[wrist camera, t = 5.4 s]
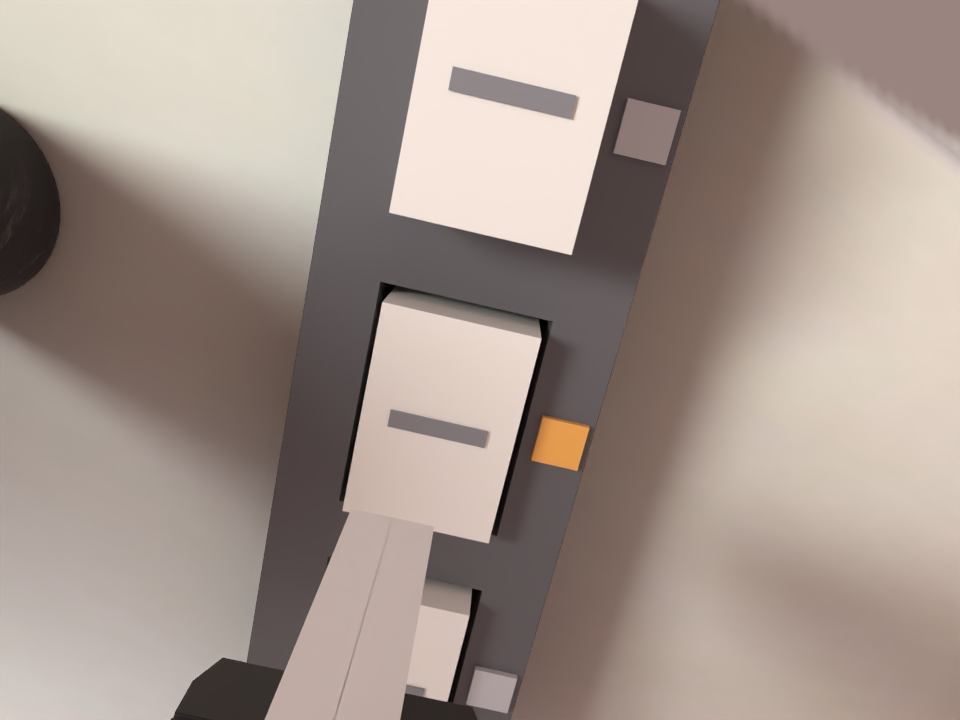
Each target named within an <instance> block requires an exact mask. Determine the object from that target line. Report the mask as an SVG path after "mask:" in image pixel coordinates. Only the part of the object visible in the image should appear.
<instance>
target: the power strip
mask: <svg viewBox="0 0 960 720" xmlns="http://www.w3.org/2000/svg"><path fill="white" fill-rule="evenodd" d="M719 1H720V0H638V3H637V7H636V11H635V15H634V19H633V22H632V26H631V30H630V34H629V38H628V42H627V45H626V49H625V53H624V57H623V61H622V64H621V68H620V72H619V76H618V80H617V84H616V87H615V91H614V95H613V99H612V103H611V106H610V110H609V114H608V118H607V122H606V126H605V129H604V133H603V137H602V141H601V145H600V148H599V152H598V156H597V160H596V164H595V167H594V171H593V175H592V179H591V183H590V187H589V190H588V194H587V198H586V202H585V206H584V209H583V213H582V217H581V221H580V225H579V229H578V232H577V236H576V240H575V244H574V248H573V251H572V255H569V254H564V253H560V252H556V251H552V250H547V249H543V248H539V247H534V246H530V245H526V244H522V243H517V242H513V241H509V240H504V239H500V238H496V237H492V236H487V235H483V234H479V233H474V232H470V231H466V230H461V229H457V228H453V227H449V226H444V225H440V224H436V223H431V222H427V221H423V220H419V219H414V218H410V217H406V216H401V215H397V214H393V213H389V209H390V204H391V199H392V193H393V188H394V183H395V177H396V172H397V167H398V161H399V156H400V151H401V145H402V140H403V135H404V129H405V124H406V119H407V113H408V108H409V103H410V98H411V92H412V87H413V82H414V76H415V71H416V66H417V60H418V55H419V50H420V44H421V39H422V34H423V28H424V23H425V18H426V12H427V7H428V2H429V0H354V1H353V7H352V13H351V19H350V25H349V32H348V38H347V44H346V50H345V56H344V63H343V69H342V75H341V81H340V87H339V94H338V100H337V106H336V112H335V118H334V125H333V131H332V137H331V143H330V149H329V156H328V162H327V168H326V174H325V180H324V187H323V193H322V199H321V205H320V211H319V218H318V224H317V230H316V236H315V242H314V249H313V255H312V261H311V267H310V273H309V280H308V286H307V292H306V298H305V305H304V311H303V317H302V323H301V329H300V336H299V342H298V348H297V354H296V360H295V367H294V373H293V379H292V385H291V391H290V398H289V404H288V410H287V416H286V422H285V429H284V435H283V441H282V447H281V453H280V460H279V466H278V472H277V478H276V484H275V491H274V497H273V503H272V509H271V515H270V522H269V528H268V534H267V540H266V546H265V553H264V559H263V565H262V571H261V577H260V584H259V590H258V596H257V602H256V609H255V615H254V621H253V627H252V633H251V640H250V646H249V652H248V658H247V663H250V664H255V665H260V666H265V667H270V668H274V669H279V670H284V671H285V669H286V666H287V664H288V662H289V659H290V657H291V654H292V652H293V649H294V647H295V645H296V642H297V640H298V637H299V635H300V632H301V630H302V628H303V625H304V623H305V620H306V618H307V615H308V613H309V610H310V608H311V606H312V603H313V601H314V598H315V596H316V593H317V591H318V589H319V586H320V584H321V581H322V579H323V576H324V574H325V572H326V569H327V567H328V564H329V562H330V559H331V557H332V554H333V552H334V550H335V547H336V545H337V542H338V540H339V537H340V535H341V533H342V530H343V528H344V525H345V523H346V520H347V518H348V516H349V513H350V512H345V511H342V510H343V505H344V499H345V494H346V489H347V484H348V478H349V473H350V468H351V463H352V458H353V452H354V447H355V442H356V437H357V432H358V426H359V421H360V416H361V411H362V406H363V400H364V395H365V390H366V385H367V379H368V374H369V369H370V364H371V359H372V353H373V348H374V343H375V338H376V333H377V327H378V322H379V317H380V312H381V306H382V302H383V301H384V299H385V298H386V297H387V296H388V295H389V293H390V292H391V291H392V290H393V289H394V287H395V286H396V285H397V286H401V287H406V288H410V289H414V290H419V291H423V292H427V293H432V294H436V295H440V296H445V297H449V298H453V299H458V300H462V301H466V302H471V303H475V304H479V305H484V306H488V307H492V308H497V309H501V310H505V311H510V312H514V313H518V314H523V315H527V316H531V317H536V318H539V325H540V332H541V338H542V339H541V343H540V347H539V351H538V354H537V358H536V362H535V366H534V370H533V374H532V378H531V381H530V385H529V389H528V393H527V397H526V401H525V405H524V409H523V412H522V416H521V420H520V424H519V428H518V432H517V436H516V439H515V443H514V447H513V451H512V455H511V459H510V463H509V466H508V470H507V474H506V478H505V482H504V486H503V490H502V494H501V497H500V501H499V505H498V509H497V513H496V517H495V521H494V524H493V528H492V532H491V536H490V540H489V544H488V543H484V542H479V541H475V540H471V539H466V538H462V537H457V536H453V535H448V534H444V533H439V532H435V531H433V536H432V542H431V548H430V553H429V559H428V565H427V571H426V576H425V578H428V579H432V580H437V581H441V582H446V583H450V584H455V585H459V586H464V587H468V588H472V595H471V606H470V616H469V620H468V624H467V628H466V632H465V636H464V639H463V643H462V647H461V651H460V655H459V659H458V663H457V666H456V670H455V674H454V678H453V682H452V686H451V690H450V694H449V697H448V701H447V702H450V703H455V704H460V705H465V706H469V707H472V708H473V710H474V712H475V715H476V717H477V719H478V720H510V719H511V716H512V713H513V709H514V706H515V702H516V699H517V695H518V692H519V688H520V685H521V682H522V678H523V675H524V671H525V668H526V664H527V661H528V658H529V654H530V651H531V647H532V644H533V640H534V637H535V633H536V630H537V627H538V623H539V620H540V616H541V613H542V609H543V606H544V603H545V599H546V596H547V592H548V589H549V585H550V582H551V578H552V575H553V572H554V568H555V565H556V561H557V558H558V554H559V551H560V547H561V544H562V541H563V537H564V534H565V530H566V527H567V523H568V520H569V517H570V513H571V510H572V506H573V503H574V499H575V496H576V492H577V489H578V486H579V482H580V479H581V475H582V472H583V468H584V465H585V462H586V458H587V455H588V451H589V448H590V444H591V441H592V437H593V434H594V431H595V427H596V424H597V420H598V417H599V413H600V410H601V406H602V403H603V400H604V396H605V393H606V389H607V386H608V382H609V379H610V376H611V372H612V369H613V365H614V362H615V358H616V355H617V351H618V348H619V345H620V341H621V338H622V334H623V331H624V327H625V324H626V321H627V317H628V314H629V310H630V307H631V303H632V300H633V296H634V293H635V290H636V286H637V283H638V279H639V276H640V272H641V269H642V266H643V262H644V259H645V255H646V252H647V248H648V245H649V241H650V238H651V235H652V231H653V228H654V224H655V221H656V217H657V214H658V210H659V207H660V204H661V200H662V197H663V193H664V190H665V186H666V183H667V180H668V176H669V173H670V169H671V166H672V162H673V159H674V155H675V152H676V149H677V145H678V142H679V138H680V135H681V131H682V128H683V125H684V121H685V118H686V114H687V111H688V107H689V104H690V100H691V97H692V94H693V90H694V87H695V83H696V80H697V76H698V73H699V69H700V66H701V63H702V59H703V56H704V52H705V49H706V45H707V42H708V39H709V35H710V32H711V28H712V25H713V21H714V18H715V14H716V11H717V8H718V4H719Z"/></svg>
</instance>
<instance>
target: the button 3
mask: <svg viewBox="0 0 960 720" xmlns="http://www.w3.org/2000/svg"><path fill="white" fill-rule="evenodd" d="M637 3H638V0H429V2H428V7H427V12H426V18H425V23H424V28H423V34H422V39H421V44H420V50H419V55H418V60H417V66H416V71H415V76H414V82H413V87H412V92H411V98H410V103H409V108H408V113H407V119H406V124H405V129H404V135H403V140H402V145H401V151H400V156H399V161H398V167H397V172H396V177H395V183H394V188H393V193H392V199H391V204H390V209H389V213H393V214H397V215H401V216H406V217H410V218H414V219H419V220H423V221H427V222H431V223H436V224H440V225H444V226H449V227H453V228H457V229H461V230H466V231H470V232H474V233H479V234H483V235H487V236H492V237H496V238H500V239H504V240H509V241H513V242H517V243H522V244H526V245H530V246H534V247H539V248H543V249H547V250H552V251H556V252H560V253H564V254H569V255H572V251H573V248H574V244H575V240H576V236H577V232H578V229H579V225H580V221H581V217H582V213H583V209H584V206H585V202H586V198H587V194H588V190H589V187H590V183H591V179H592V175H593V171H594V167H595V164H596V160H597V156H598V152H599V148H600V145H601V141H602V137H603V133H604V129H605V126H606V122H607V118H608V114H609V110H610V106H611V103H612V99H613V95H614V91H615V87H616V84H617V80H618V76H619V72H620V68H621V64H622V61H623V57H624V53H625V49H626V45H627V42H628V38H629V34H630V30H631V26H632V22H633V19H634V15H635V11H636V7H637Z"/></svg>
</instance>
